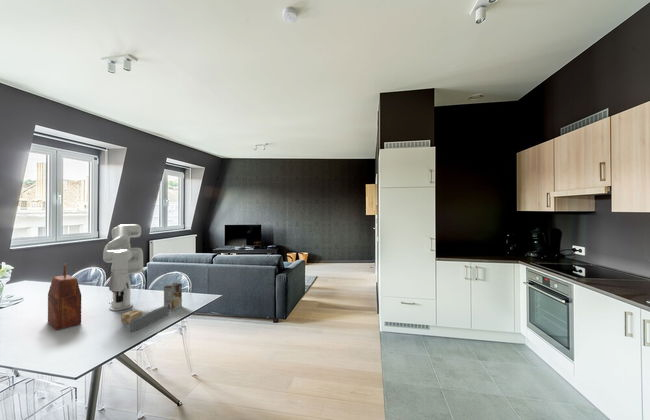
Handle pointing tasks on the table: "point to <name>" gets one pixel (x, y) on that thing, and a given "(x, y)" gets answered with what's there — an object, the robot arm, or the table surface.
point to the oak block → (130, 316)
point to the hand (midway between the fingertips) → (119, 301)
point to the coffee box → (173, 296)
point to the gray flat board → (148, 318)
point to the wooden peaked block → (64, 302)
